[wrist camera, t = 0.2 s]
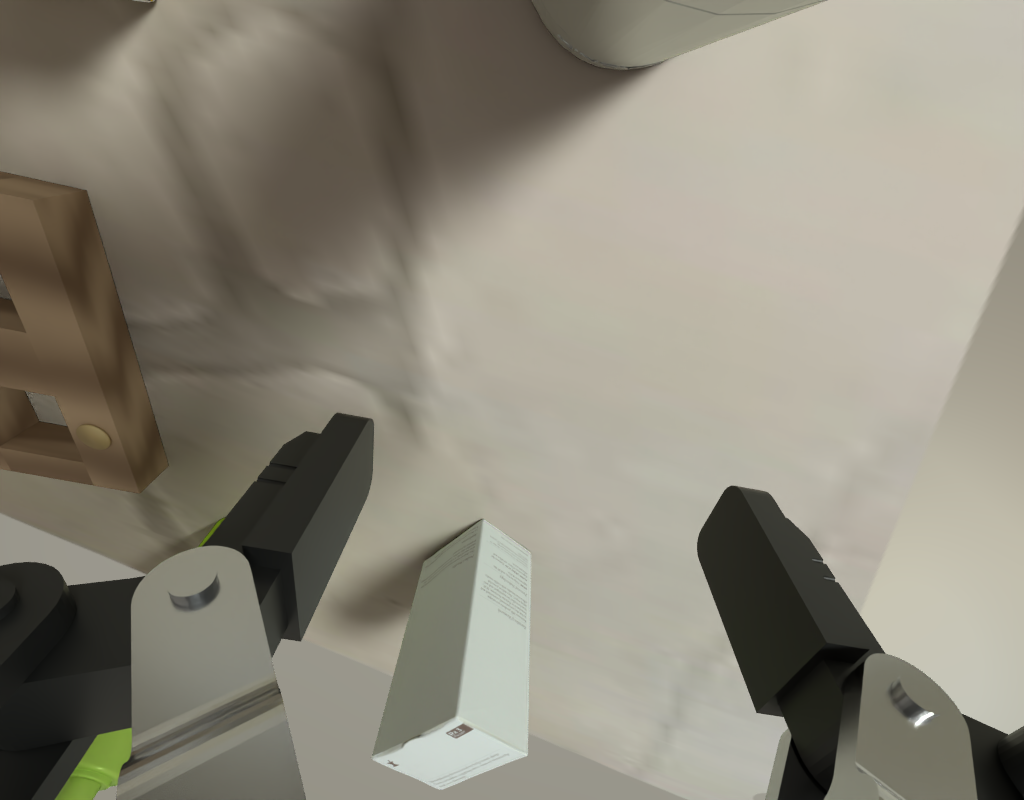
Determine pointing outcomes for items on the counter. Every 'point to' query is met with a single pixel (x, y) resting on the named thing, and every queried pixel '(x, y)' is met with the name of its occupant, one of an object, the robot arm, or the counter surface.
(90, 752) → the soap dispenser
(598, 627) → the counter surface
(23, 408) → the board
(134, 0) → the medicine bottle
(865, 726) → the robot arm
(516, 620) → the skincare box
